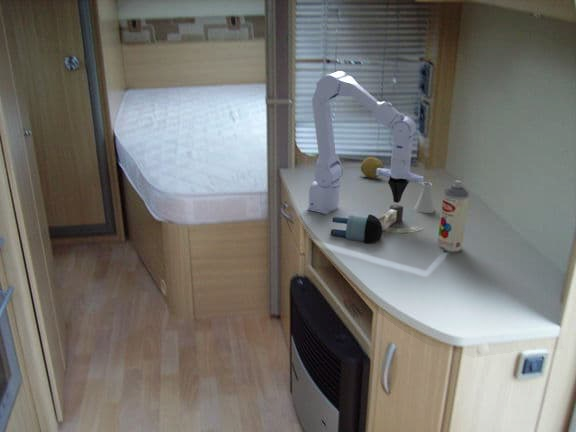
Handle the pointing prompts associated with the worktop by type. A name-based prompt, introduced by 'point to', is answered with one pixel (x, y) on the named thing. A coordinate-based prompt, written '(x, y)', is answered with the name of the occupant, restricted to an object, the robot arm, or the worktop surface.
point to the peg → (391, 216)
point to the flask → (425, 200)
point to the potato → (371, 167)
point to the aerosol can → (453, 218)
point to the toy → (359, 228)
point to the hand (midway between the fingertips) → (397, 201)
